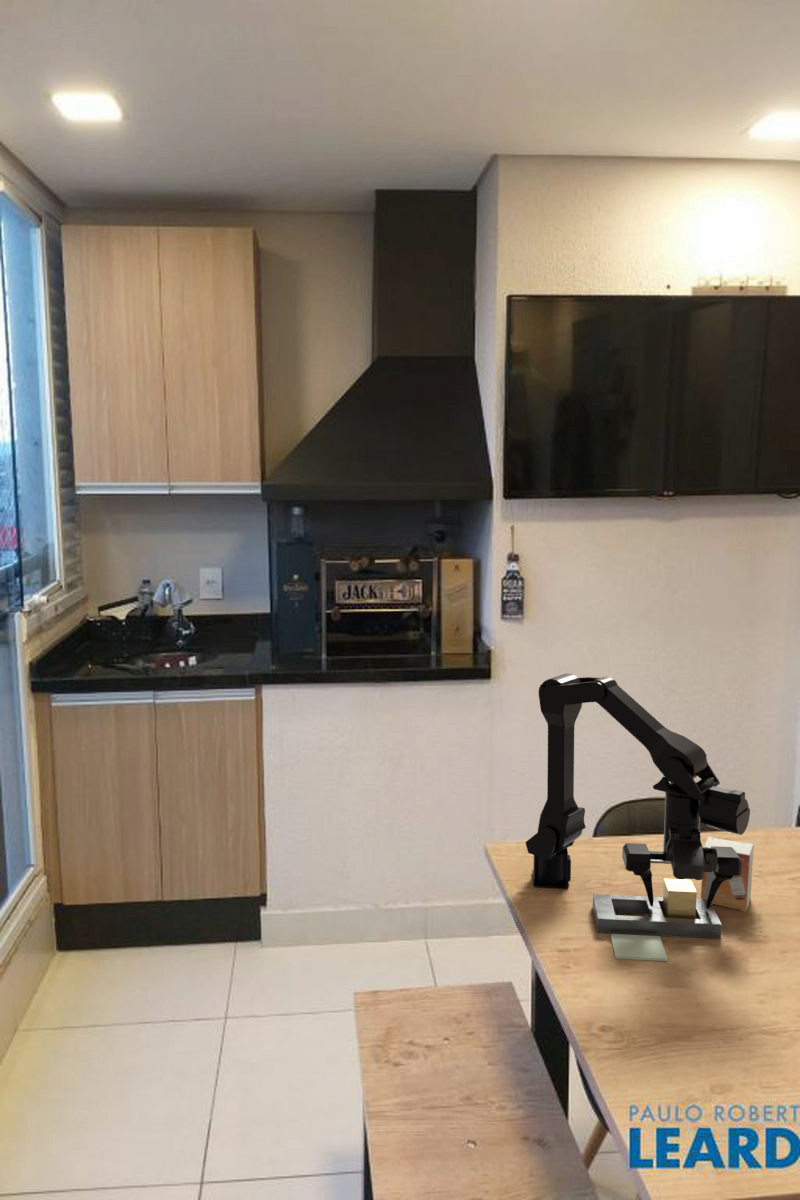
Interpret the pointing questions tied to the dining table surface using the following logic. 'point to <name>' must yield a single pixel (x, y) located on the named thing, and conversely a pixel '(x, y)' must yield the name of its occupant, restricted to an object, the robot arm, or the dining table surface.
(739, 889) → the small box
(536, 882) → the robot arm
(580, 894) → the dining table surface
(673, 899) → the block
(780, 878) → the dining table surface
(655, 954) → the mat
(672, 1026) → the dining table surface
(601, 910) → the grey flat rectangular frame
